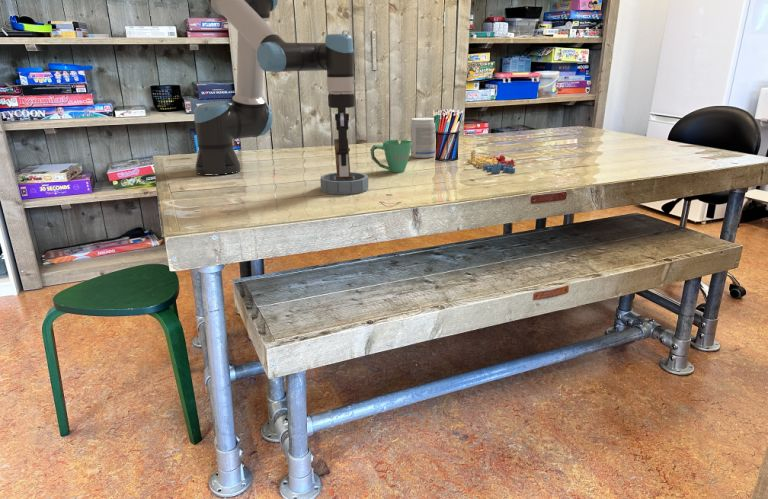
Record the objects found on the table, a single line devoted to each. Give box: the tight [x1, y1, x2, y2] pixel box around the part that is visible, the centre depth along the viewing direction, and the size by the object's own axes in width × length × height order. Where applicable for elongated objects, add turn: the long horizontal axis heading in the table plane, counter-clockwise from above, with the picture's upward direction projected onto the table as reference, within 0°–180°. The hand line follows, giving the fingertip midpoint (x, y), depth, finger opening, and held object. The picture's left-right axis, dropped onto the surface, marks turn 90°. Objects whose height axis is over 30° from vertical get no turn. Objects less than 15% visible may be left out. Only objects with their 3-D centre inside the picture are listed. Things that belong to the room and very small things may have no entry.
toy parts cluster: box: [467, 149, 516, 175], centre depth 200 cm, size 45×14×5 cm, turn 12°
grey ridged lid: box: [319, 171, 369, 196], centre depth 161 cm, size 14×14×4 cm
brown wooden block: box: [333, 137, 351, 179], centre depth 159 cm, size 4×2×14 cm, turn 94°
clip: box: [334, 176, 355, 181], centre depth 161 cm, size 6×4×3 cm
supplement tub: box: [410, 117, 436, 159], centre depth 211 cm, size 10×10×15 cm
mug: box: [370, 139, 412, 173], centre depth 184 cm, size 15×10×10 cm
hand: (344, 174), depth 160 cm, fingers open, 3 cm apart
